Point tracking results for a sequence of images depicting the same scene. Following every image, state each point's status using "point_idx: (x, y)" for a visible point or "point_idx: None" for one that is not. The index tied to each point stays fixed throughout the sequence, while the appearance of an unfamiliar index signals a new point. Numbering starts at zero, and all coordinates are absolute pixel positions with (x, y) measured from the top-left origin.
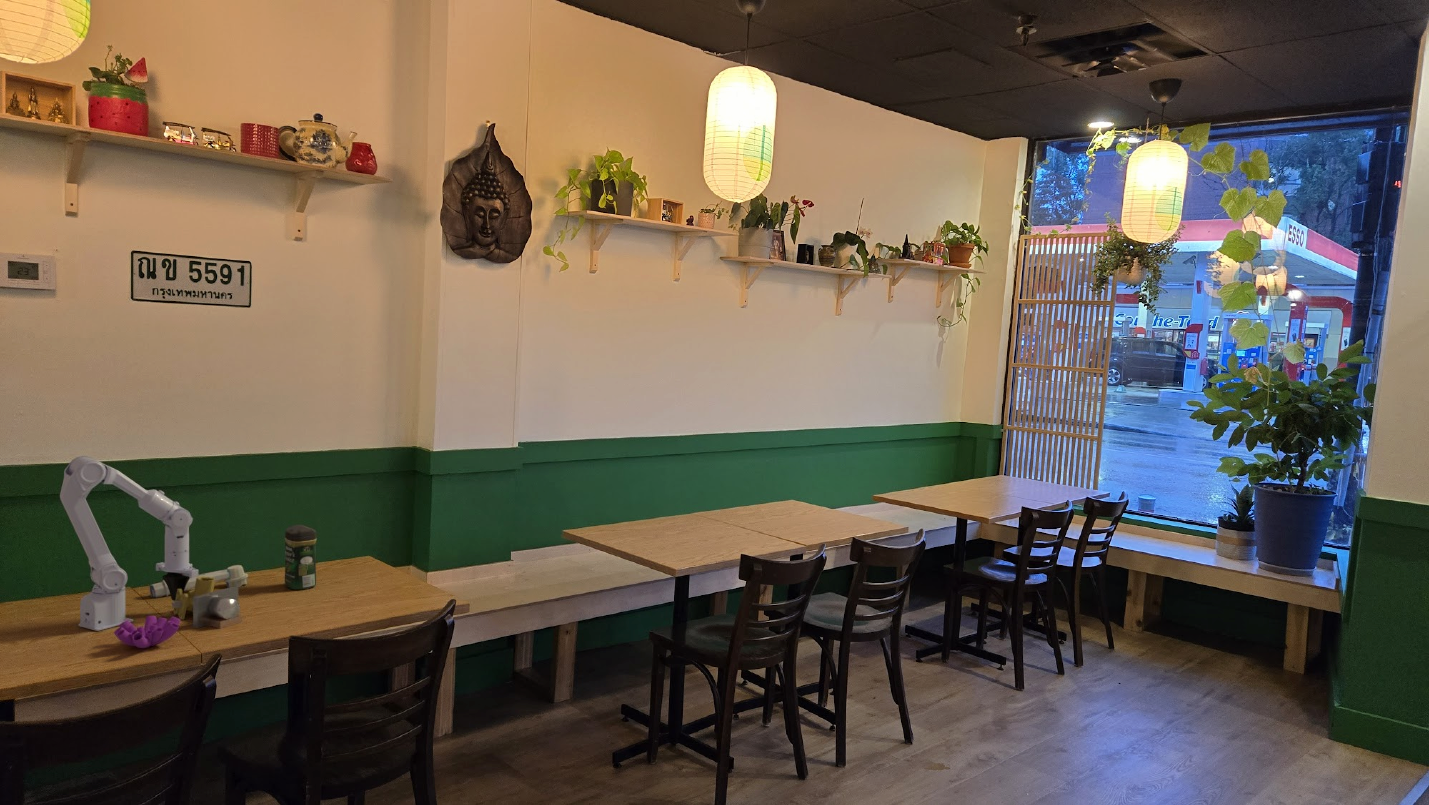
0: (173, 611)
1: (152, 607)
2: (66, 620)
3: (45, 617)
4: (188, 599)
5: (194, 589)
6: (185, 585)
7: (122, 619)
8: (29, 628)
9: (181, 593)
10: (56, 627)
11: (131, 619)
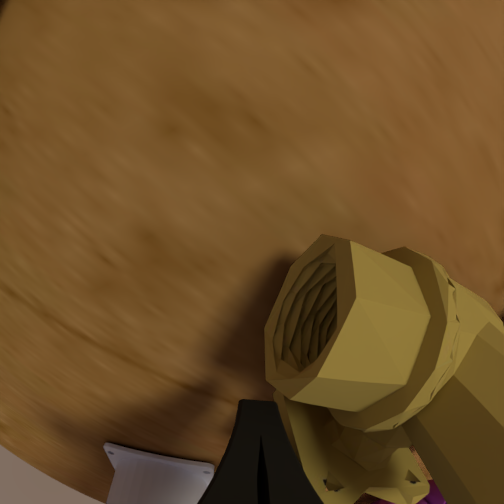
0: (274, 395)
1: (67, 330)
2: (56, 455)
3: (11, 438)
4: (397, 448)
5: (426, 466)
6: (316, 497)
7: (203, 487)
8: (73, 483)
9: (359, 495)
10: (99, 484)
11: (203, 468)
